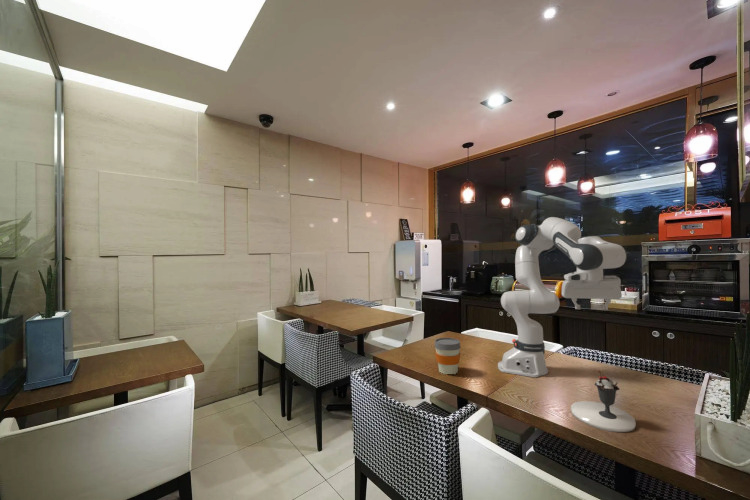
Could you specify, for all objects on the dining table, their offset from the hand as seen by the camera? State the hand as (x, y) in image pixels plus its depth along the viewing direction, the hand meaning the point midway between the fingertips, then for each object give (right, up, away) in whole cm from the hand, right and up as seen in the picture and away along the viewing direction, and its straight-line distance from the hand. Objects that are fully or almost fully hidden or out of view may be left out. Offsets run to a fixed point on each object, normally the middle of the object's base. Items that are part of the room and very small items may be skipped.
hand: (591, 309), depth 123 cm
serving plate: (-9, -34, -18) cm, 40 cm away
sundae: (-8, -33, -19) cm, 39 cm away
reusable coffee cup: (-52, -36, +26) cm, 69 cm away
